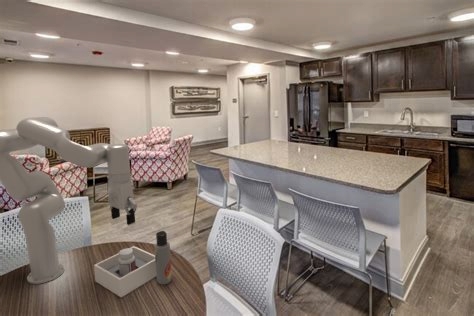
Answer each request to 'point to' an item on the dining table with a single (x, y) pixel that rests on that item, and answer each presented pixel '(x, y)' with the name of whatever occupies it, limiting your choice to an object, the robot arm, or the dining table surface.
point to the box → (120, 285)
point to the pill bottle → (126, 261)
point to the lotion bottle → (163, 258)
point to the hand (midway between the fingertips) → (123, 220)
